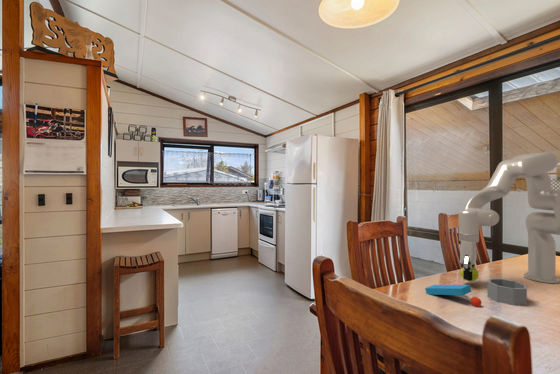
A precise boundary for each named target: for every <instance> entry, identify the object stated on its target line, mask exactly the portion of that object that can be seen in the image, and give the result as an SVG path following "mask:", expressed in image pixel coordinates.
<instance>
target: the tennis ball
mask: <svg viewBox="0 0 560 374" xmlns="http://www.w3.org/2000/svg"><path fill="white" fill-rule="evenodd" d="M469 268H470V266H469ZM463 270H464V266H463V267H462V268H461V269H460V276H461V277H462V278H463ZM471 271H472V281H470V280H466V281H467V282H475V281H477V280H478V278H479V271H478V269H476V267H475V268H474V267H472V269H471Z"/></svg>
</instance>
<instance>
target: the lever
mask: <svg viewBox="0 0 560 374" xmlns="http://www.w3.org/2000/svg"><path fill="white" fill-rule="evenodd" d="M424 290H425V293H426V294H427V295H433V296H434V295H440V296H441V295H443V296H458V297H460V298H462V299H463V300H464V299H465V300H467V301H469V302H470V304H471V305H472V306H473V307H476V308H477V307H480V306H482V300H481V299H480V298H479V297H477V296H472V297H470V296H469V295H468V296H467V294H469V293H471V292H472V288H471V285H470V284H433V285H430V286H427V287H425V288H424Z"/></svg>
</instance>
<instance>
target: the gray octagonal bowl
mask: <svg viewBox="0 0 560 374" xmlns="http://www.w3.org/2000/svg"><path fill="white" fill-rule="evenodd" d="M487 298H489V299H491V300H493V301H495V302H498V303H502V304H507V305H512V306H527V303H528V302H527V301H528V285H527V284H524V283H521V282H519V281H516V280H511V279H506V278H505V279H504V278H488V280H487Z"/></svg>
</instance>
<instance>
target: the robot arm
mask: <svg viewBox="0 0 560 374" xmlns="http://www.w3.org/2000/svg"><path fill="white" fill-rule="evenodd" d="M558 164H559V158H558V157H557V155H556V154H554V153H553V152H549V151H545V152H535V153H525V154H524V153H523V154H519V155H515V156H514V157H512V158H511V159H505V160H502V161H501V162H498V164H497V166H496V169H495V171H494V172H493V174H492V176H491V178H490V180H489V181H488V183H487V185H486V186H485V187H484V188H482V189H481V190H479V191H478V192H477V193H475V194H474V195H473V196H472V197H471V198H470V199H469V200H468V202H467V203H466V206H465V208H464V209H460V210H459V211H458V214H457V215H458V216H457V217H458V218H457V219H458V241H459V242H460V248H459V253H460V254H459V263H460V264H461V265H462V264H463V267H464V270H463V277H462V278H463V280H465V281H467V280H470V281H469V282H473V281H472V271H471V269H472V267H474V268H475V269H476V262H477V243H479V242H480V227H493V226H495V225H497V224H498V223H499V221H500V215H499V213H498V212H496V211H495V210H493V209H489V208H483V207H484V206H485V205H487V204H488V203H490V202H492V201H495V200H498V199H501V198H503V197H506V196H507V195H508V194H510V191H511V189H512V187H513V185H514V184H515V182H516V180H517V179H518V178H519V179H520V178H521V179H522V178H524V179H525V183H526V191H527V202H528V205H529V207H530V208H532V209H534V210H543V211H534V212H530V213H528V214H527V216H526V217H525V227H526V231H527V242H528V244H527V247H528V249H527V250H528V251H527V255H528V257H527V260H528V261H527V263H528V264H527V266H528V267H527V268H528V269H527V272H524V273H523V277H525V278H526V279H528V280H531V281H535V282H539V283H545V284H546V283H547V284H560V278H559V277H556V272H557V270H556V258H557V256H556V250H557V249H556V247H557V246H556V240H555V238H554V236H553V235H557V236H560V189H556V188H555V189H553V187H552V182H551V181H552V179H551V176H550V175H549V174H548V173H549V172H551V171H553V170H555V169H556V168H557V166H558ZM545 211H546V212H545ZM547 211H554V212H547ZM469 266H470V268H469Z"/></svg>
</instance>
